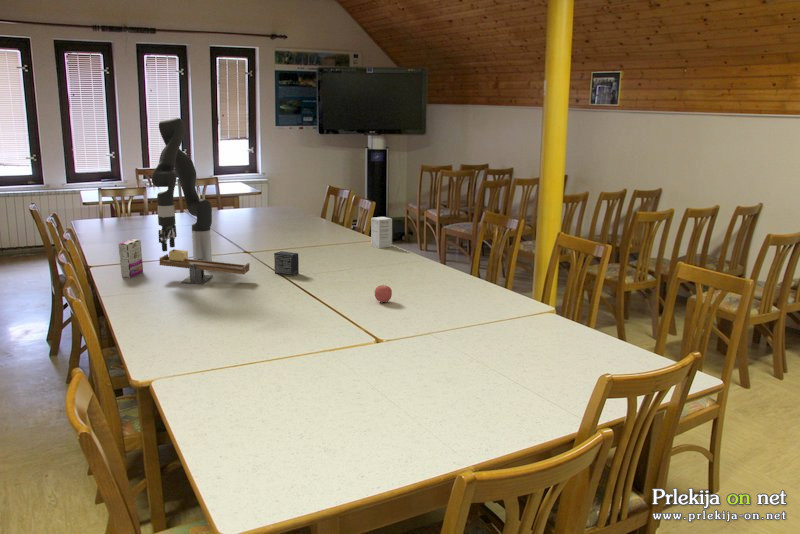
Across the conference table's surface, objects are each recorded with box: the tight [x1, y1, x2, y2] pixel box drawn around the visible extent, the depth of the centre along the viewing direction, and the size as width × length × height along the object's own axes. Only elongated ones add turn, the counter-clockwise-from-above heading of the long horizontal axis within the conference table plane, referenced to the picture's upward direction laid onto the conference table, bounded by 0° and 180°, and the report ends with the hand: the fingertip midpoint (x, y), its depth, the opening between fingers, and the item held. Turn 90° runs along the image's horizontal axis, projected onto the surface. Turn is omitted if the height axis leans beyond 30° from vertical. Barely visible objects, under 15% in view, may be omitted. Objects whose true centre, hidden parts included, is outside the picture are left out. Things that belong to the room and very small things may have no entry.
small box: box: [273, 250, 300, 277], centre depth 333 cm, size 11×6×10 cm, turn 65°
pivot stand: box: [180, 259, 214, 286], centre depth 318 cm, size 14×10×9 cm
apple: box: [374, 283, 393, 303], centre depth 290 cm, size 7×7×8 cm
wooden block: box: [168, 248, 189, 263], centre depth 317 cm, size 5×5×7 cm
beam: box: [159, 253, 251, 275], centre depth 317 cm, size 8×40×4 cm, turn 85°
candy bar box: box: [118, 238, 144, 278], centre depth 324 cm, size 11×5×16 cm, turn 168°
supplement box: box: [370, 216, 393, 249], centre depth 399 cm, size 10×9×17 cm
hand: (168, 249), depth 317 cm, fingers open, 8 cm apart
